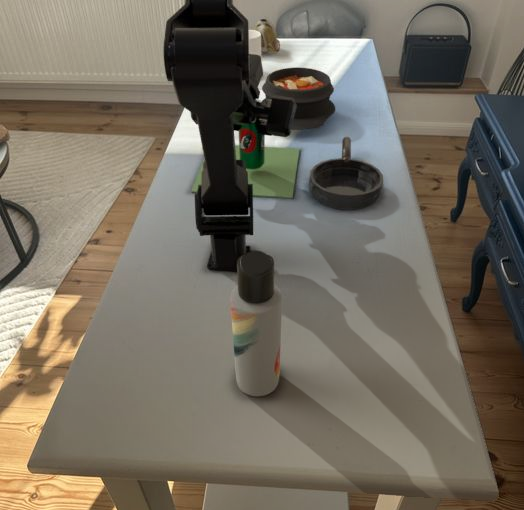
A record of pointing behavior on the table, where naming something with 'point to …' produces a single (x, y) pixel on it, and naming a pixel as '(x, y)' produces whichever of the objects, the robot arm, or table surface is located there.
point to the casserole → (303, 94)
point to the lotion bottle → (256, 324)
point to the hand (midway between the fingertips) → (254, 130)
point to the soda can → (252, 144)
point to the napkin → (269, 173)
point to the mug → (254, 42)
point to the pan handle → (346, 150)
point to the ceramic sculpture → (267, 36)
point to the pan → (345, 183)
